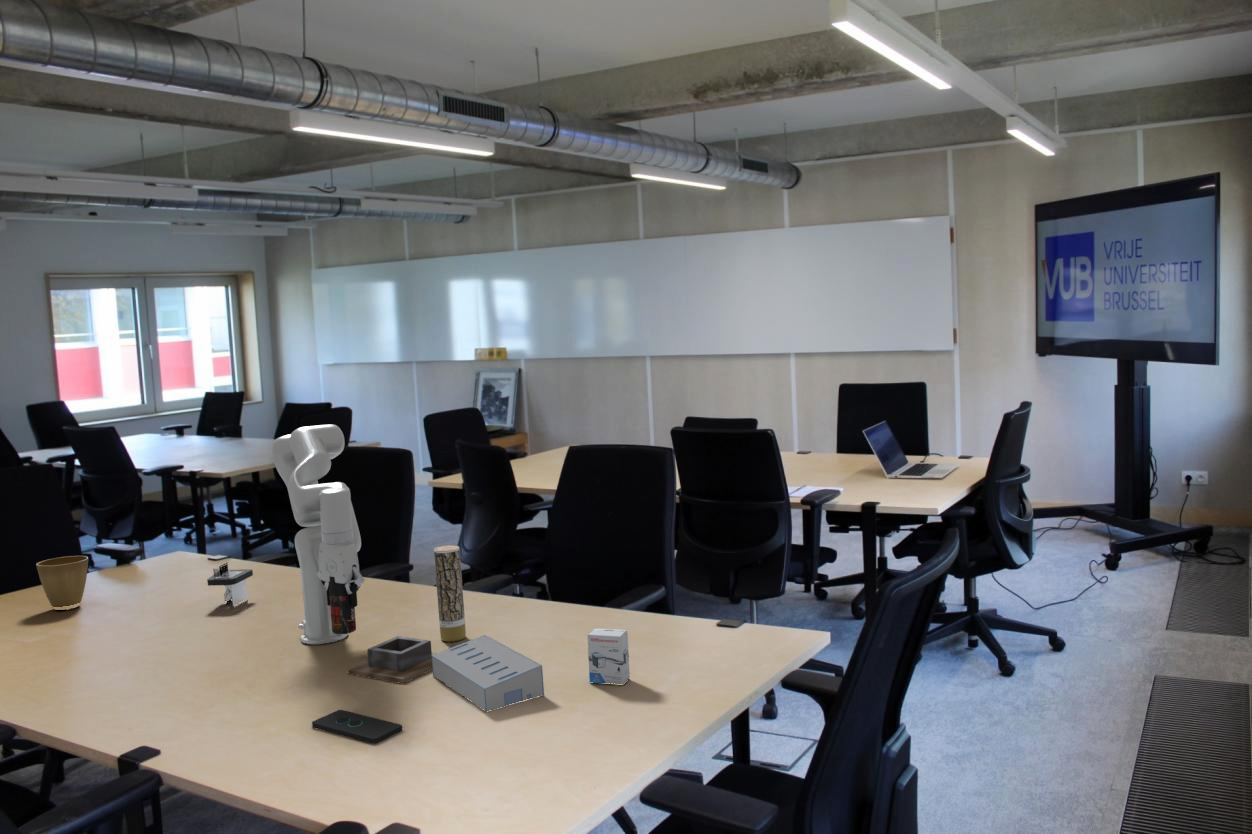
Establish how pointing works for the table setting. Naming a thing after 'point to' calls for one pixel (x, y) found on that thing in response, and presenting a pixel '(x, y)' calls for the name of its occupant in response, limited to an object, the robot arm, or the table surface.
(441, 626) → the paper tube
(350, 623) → the deodorant
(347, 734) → the smart home device
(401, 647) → the holder
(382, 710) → the table surface
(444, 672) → the warehouse
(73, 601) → the plant pot
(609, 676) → the ink box
